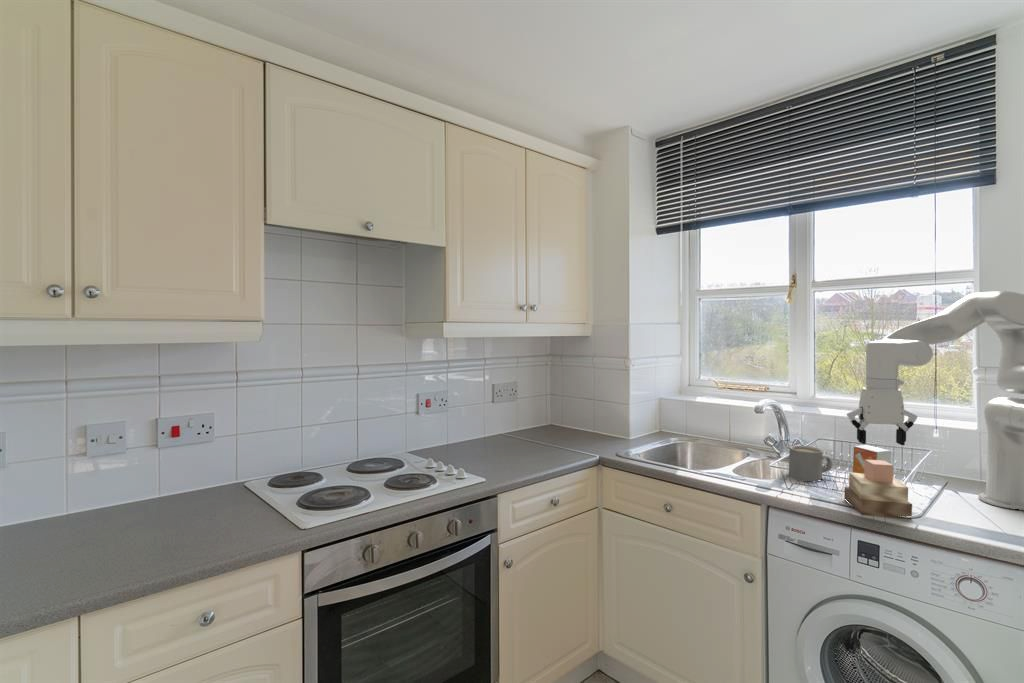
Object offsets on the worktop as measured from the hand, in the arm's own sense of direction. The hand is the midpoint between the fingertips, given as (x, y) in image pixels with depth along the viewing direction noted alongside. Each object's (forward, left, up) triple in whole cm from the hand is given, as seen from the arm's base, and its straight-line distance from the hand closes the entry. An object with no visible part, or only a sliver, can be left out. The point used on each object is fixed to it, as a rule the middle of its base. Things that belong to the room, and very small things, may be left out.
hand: (881, 443), depth 145 cm
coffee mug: (+9, -27, -19) cm, 35 cm away
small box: (-7, -21, -19) cm, 29 cm away
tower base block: (+1, 0, -19) cm, 19 cm away
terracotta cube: (+1, 0, -10) cm, 10 cm away
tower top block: (+1, 0, -15) cm, 15 cm away
